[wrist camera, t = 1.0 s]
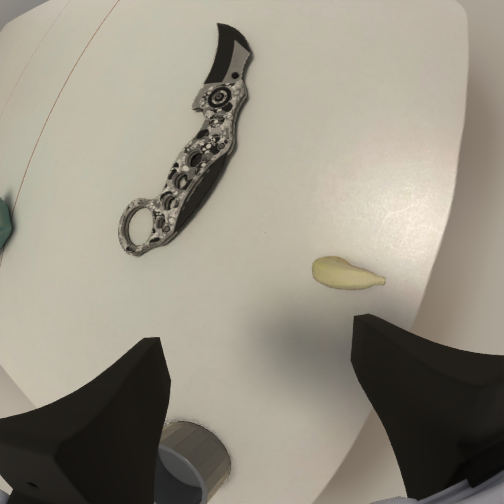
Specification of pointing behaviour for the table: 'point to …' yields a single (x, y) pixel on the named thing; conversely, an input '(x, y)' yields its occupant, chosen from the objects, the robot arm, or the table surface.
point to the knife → (198, 145)
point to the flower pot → (4, 223)
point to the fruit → (343, 274)
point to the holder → (189, 465)
